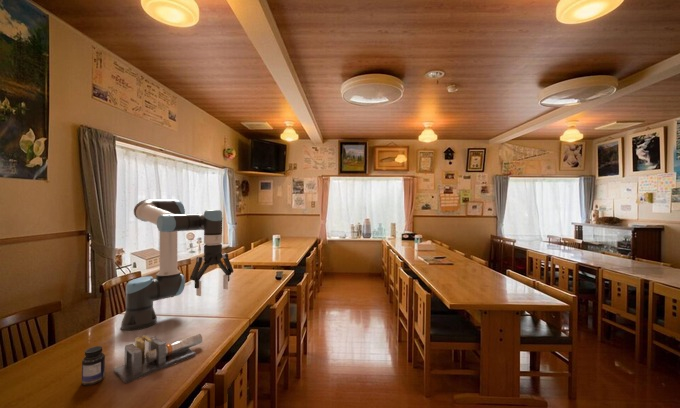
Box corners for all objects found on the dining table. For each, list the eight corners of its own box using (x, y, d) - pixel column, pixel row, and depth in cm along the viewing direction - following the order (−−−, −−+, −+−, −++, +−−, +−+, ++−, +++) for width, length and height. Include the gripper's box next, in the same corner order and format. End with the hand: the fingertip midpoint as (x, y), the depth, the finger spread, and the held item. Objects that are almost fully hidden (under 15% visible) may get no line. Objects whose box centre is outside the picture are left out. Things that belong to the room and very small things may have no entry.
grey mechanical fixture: (114, 371, 108) (114, 347, 108) (181, 346, 127) (181, 326, 127) (125, 383, 101) (125, 357, 101) (195, 355, 120) (195, 333, 120)
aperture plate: (134, 361, 113) (134, 337, 113) (143, 357, 115) (144, 334, 115) (141, 367, 109) (141, 342, 109) (151, 363, 111) (151, 339, 111)
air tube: (150, 364, 110) (150, 353, 110) (145, 361, 113) (146, 349, 113) (202, 344, 126) (202, 334, 126) (197, 342, 129) (197, 332, 129)
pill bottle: (90, 376, 105) (91, 345, 105) (108, 375, 105) (109, 344, 106) (76, 386, 99) (77, 353, 99) (96, 385, 99) (96, 353, 99)
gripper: (189, 247, 120) (189, 300, 120) (241, 242, 139) (241, 287, 139) (181, 246, 125) (180, 297, 124) (232, 241, 144) (232, 285, 144)
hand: (212, 292), depth 132 cm, fingers open, 12 cm apart
